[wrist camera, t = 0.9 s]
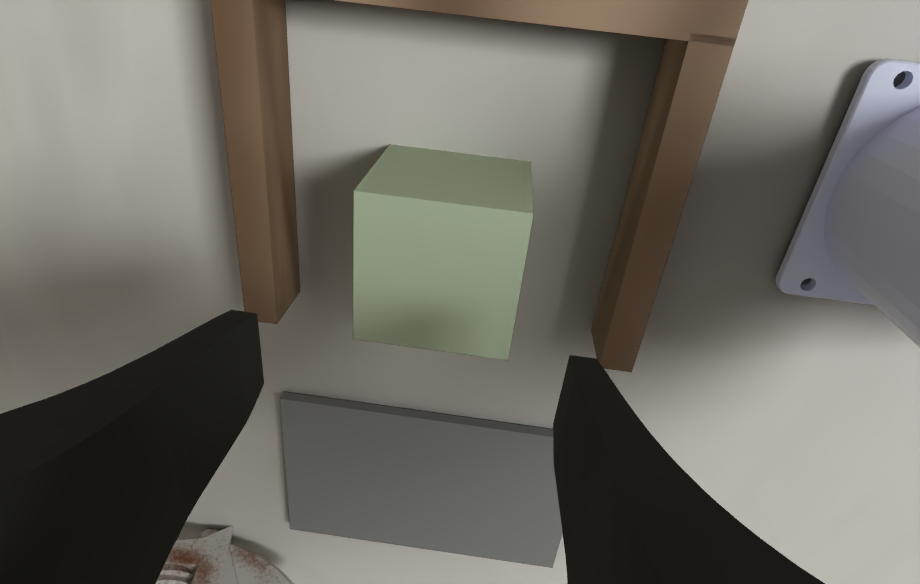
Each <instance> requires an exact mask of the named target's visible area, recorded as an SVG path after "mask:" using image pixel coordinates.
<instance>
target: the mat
mask: <svg viewBox="0 0 920 584" xmlns="http://www.w3.org/2000/svg"><path fill="white" fill-rule="evenodd" d="M280 408H281V420H282V433H283V445H284V458H285V470H286V483H287V495H288V508H289V520H290V529H294V530H301V531H307V532H314V533H321V534H328V535H334V536H341V537H348V538H355V539H361V540H368V541H375V542H382V543H388V544H395V545H402V546H409V547H415V548H422V549H429V550H436V551H442V552H449V553H456V554H463V555H469V556H476V557H483V558H490V559H496V560H503V561H510V562H517V563H523V564H530V565H537V566H544V567H550V568H553V564H554V561H555V557H556V554H557V550H558V547H559V543H560V540H561V536H562V533H563V532H562V524H561V517H560V509H559V502H558V495H557V487H556V479H555V471H554V458H553V429H547V428H540V427H533V426H525V425H518V424H511V423H504V422H497V421H490V420H482V419H475V418H468V417H461V416H454V415H447V414H440V413H432V412H425V411H418V410H411V409H404V408H397V407H389V406H382V405H375V404H368V403H361V402H354V401H347V400H339V399H332V398H325V397H318V396H311V395H304V394H296V393H289V392H283V394H282V396H281V398H280Z"/></svg>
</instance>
